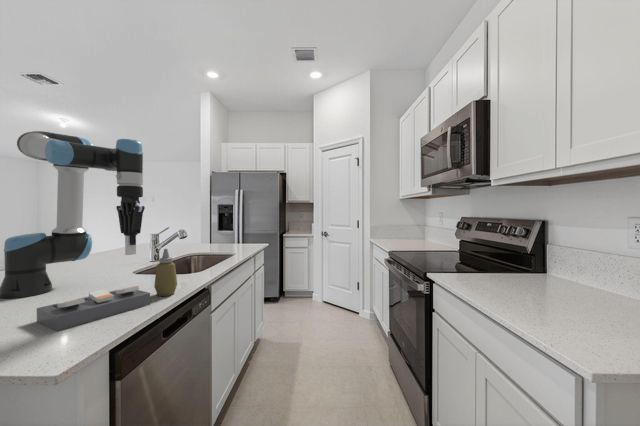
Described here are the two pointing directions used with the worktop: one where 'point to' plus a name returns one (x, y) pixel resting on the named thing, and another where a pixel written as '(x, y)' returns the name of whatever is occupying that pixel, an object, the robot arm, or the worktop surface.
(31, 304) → the worktop surface
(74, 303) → the rocker
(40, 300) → the worktop surface
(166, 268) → the squeeze bottle
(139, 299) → the power strip
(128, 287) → the rocker
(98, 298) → the middle rocker
